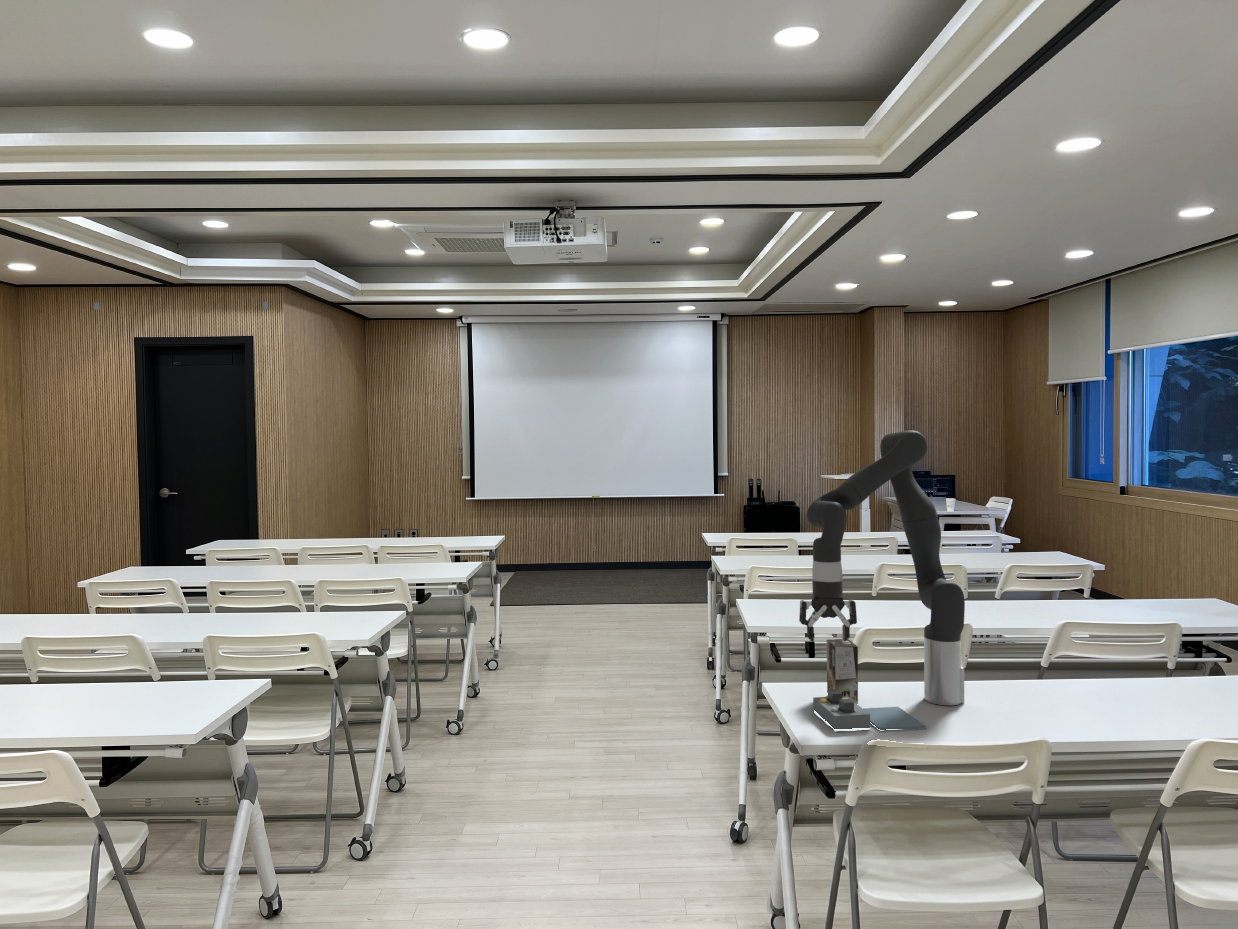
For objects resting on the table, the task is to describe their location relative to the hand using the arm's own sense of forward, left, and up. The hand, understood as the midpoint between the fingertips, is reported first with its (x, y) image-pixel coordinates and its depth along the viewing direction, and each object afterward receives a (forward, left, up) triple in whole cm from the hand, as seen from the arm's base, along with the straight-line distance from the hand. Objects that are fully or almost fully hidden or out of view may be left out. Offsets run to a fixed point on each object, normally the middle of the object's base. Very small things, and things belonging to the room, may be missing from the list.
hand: (828, 640), depth 193 cm
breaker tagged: (-1, +1, -16) cm, 16 cm away
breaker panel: (-1, +4, -20) cm, 20 cm away
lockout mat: (-14, +5, -20) cm, 25 cm away
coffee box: (-8, -11, -20) cm, 24 cm away
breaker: (-1, +8, -16) cm, 18 cm away
